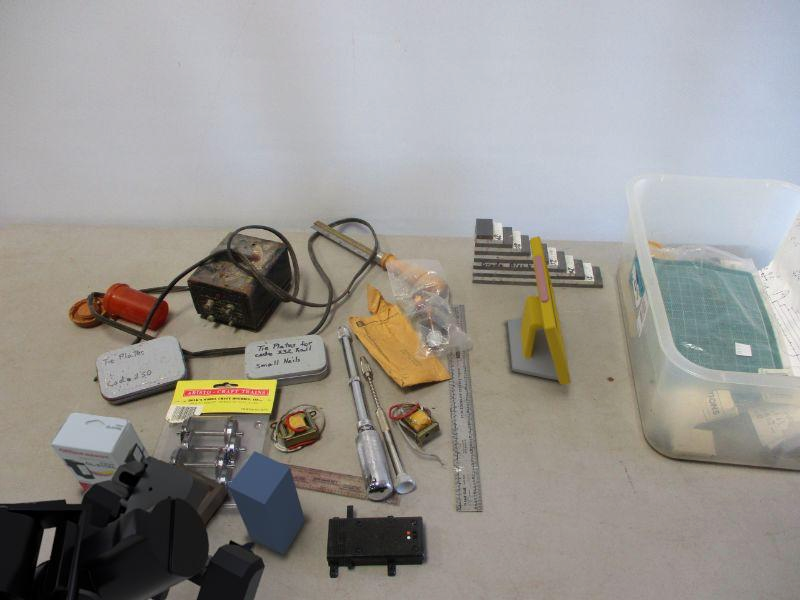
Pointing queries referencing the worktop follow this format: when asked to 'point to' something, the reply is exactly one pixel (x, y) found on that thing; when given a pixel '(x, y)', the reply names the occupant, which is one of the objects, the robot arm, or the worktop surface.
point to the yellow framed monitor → (539, 329)
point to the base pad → (208, 495)
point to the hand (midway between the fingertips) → (216, 528)
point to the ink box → (96, 446)
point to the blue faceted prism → (268, 502)
